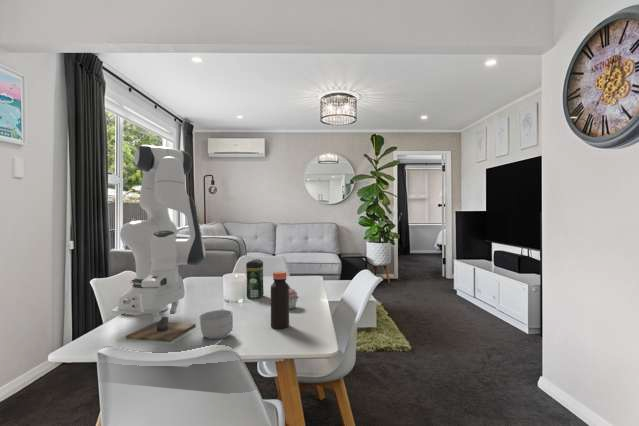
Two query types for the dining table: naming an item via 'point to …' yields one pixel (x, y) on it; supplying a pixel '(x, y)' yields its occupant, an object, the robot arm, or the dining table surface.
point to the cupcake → (292, 298)
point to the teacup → (216, 324)
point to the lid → (161, 331)
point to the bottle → (279, 301)
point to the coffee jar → (254, 279)
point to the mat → (161, 341)
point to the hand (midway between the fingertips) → (165, 317)
